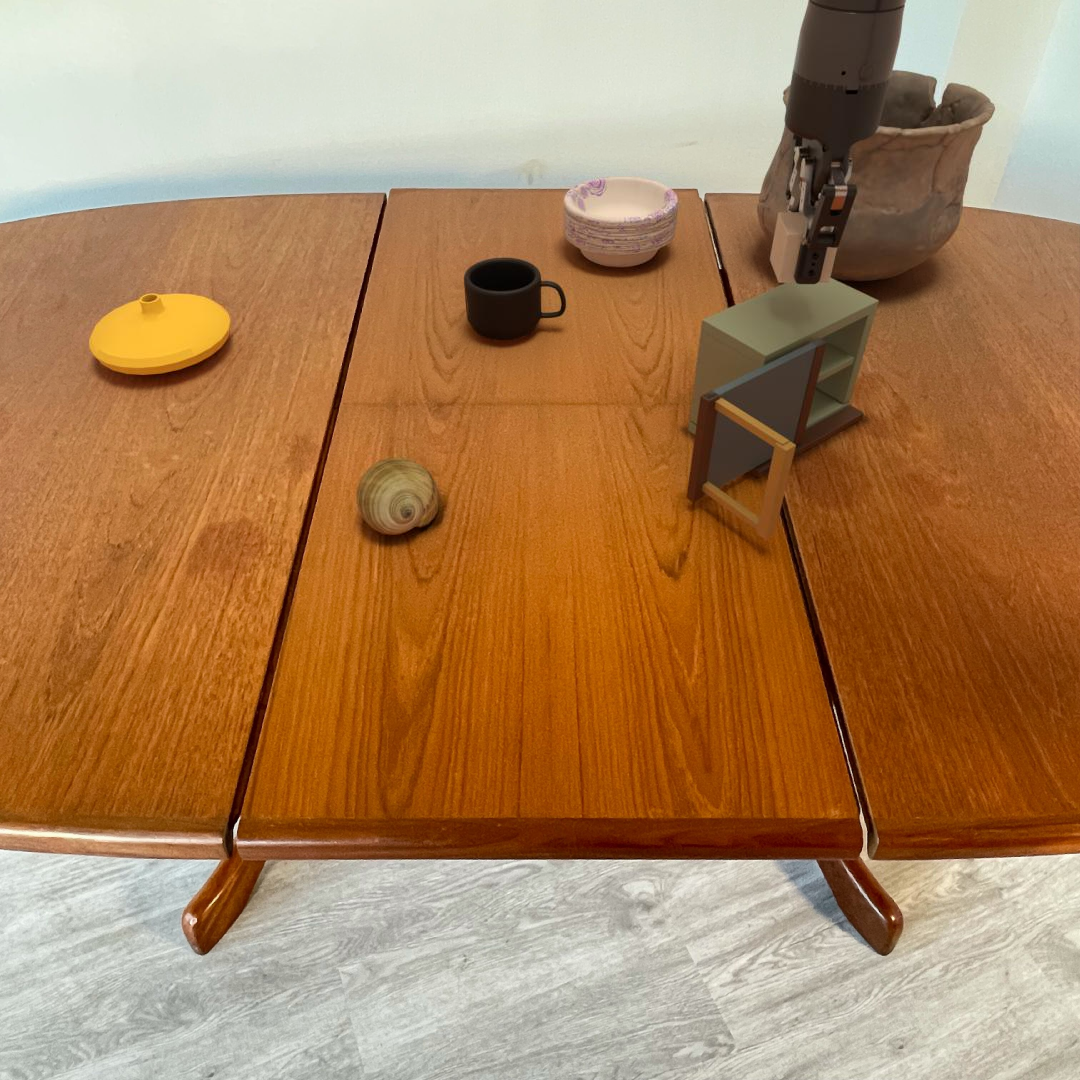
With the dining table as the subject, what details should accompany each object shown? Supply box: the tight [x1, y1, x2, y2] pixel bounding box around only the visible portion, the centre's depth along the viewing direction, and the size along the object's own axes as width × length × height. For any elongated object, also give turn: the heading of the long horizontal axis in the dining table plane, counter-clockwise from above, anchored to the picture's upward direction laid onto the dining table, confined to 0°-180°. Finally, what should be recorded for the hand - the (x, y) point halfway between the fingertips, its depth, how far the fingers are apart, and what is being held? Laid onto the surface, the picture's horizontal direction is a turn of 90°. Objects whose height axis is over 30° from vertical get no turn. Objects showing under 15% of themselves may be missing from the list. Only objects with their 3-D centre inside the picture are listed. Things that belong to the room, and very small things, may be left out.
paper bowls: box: [562, 176, 679, 268], centre depth 118 cm, size 15×15×8 cm
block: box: [769, 212, 837, 284], centre depth 80 cm, size 5×5×5 cm
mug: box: [463, 257, 567, 341], centre depth 104 cm, size 12×9×7 cm
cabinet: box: [687, 277, 879, 479], centre depth 88 cm, size 10×16×13 cm, turn 127°
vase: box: [88, 293, 232, 376], centre depth 102 cm, size 16×16×7 cm
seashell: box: [356, 457, 440, 536], centre depth 82 cm, size 10×7×8 cm
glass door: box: [686, 338, 827, 541], centre depth 79 cm, size 9×15×12 cm, turn 127°
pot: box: [756, 69, 996, 282], centre depth 110 cm, size 25×24×21 cm
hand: (800, 267), depth 81 cm, fingers closed on block, 4 cm apart
